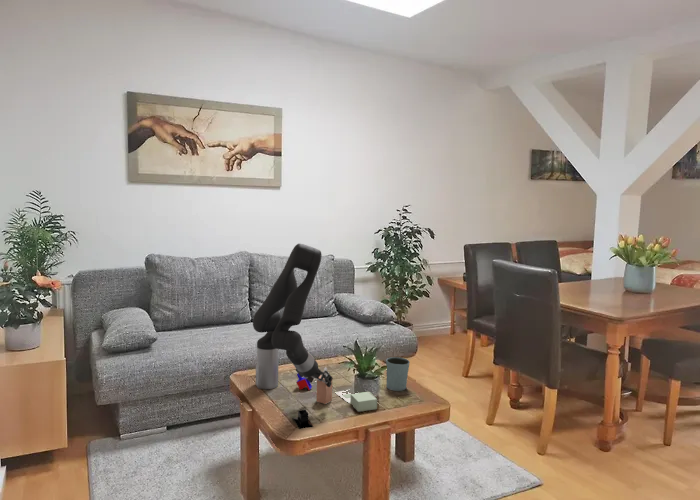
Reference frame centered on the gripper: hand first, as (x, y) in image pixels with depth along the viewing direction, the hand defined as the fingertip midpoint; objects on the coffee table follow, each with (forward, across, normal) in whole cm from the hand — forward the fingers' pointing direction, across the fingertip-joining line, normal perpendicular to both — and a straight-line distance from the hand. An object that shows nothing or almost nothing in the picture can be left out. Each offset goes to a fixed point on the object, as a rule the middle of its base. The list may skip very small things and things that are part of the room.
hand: (320, 382), depth 206 cm
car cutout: (+22, +14, -9) cm, 28 cm away
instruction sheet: (+15, -6, -3) cm, 17 cm away
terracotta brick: (+8, 0, +4) cm, 9 cm away
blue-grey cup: (+30, -18, -17) cm, 39 cm away
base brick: (+11, -16, +1) cm, 19 cm away
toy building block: (+12, +14, 0) cm, 19 cm away
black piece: (-6, -4, +19) cm, 21 cm away
